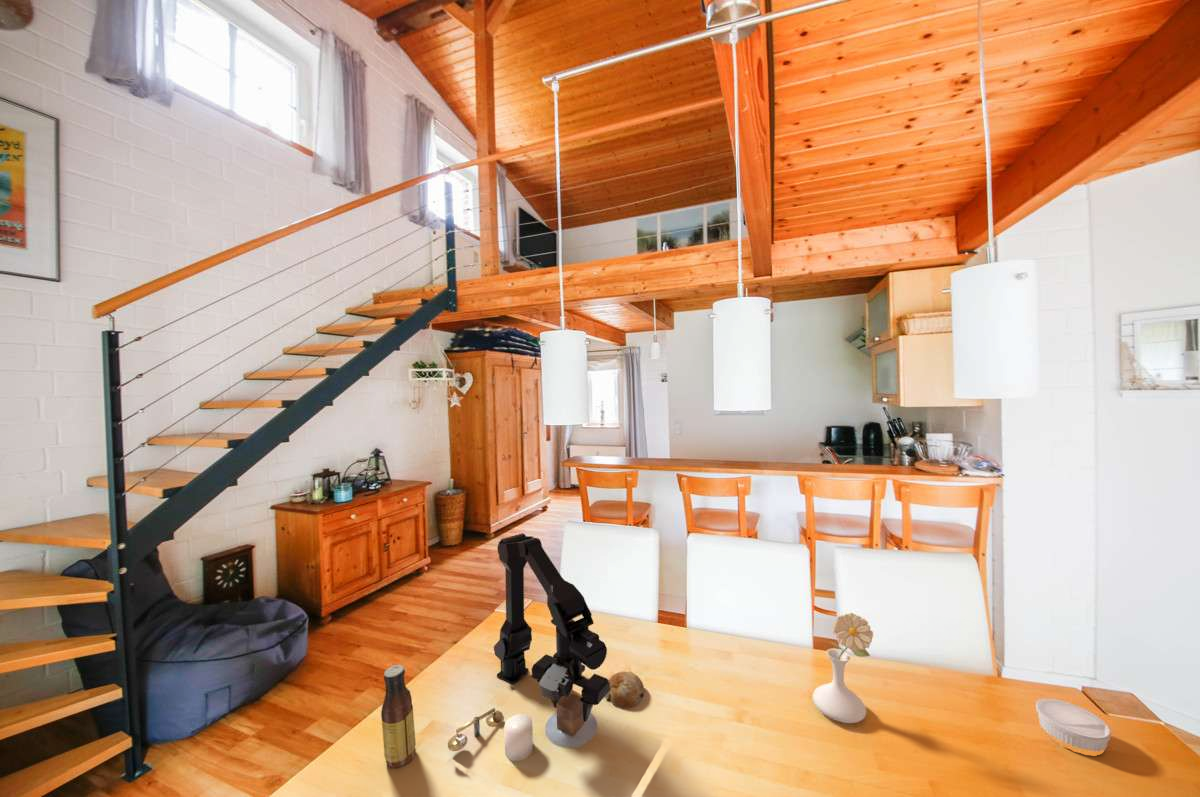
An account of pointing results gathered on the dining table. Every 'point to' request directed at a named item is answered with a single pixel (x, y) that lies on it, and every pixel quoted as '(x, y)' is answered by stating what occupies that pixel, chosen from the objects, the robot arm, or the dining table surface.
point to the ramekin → (1073, 724)
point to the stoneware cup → (518, 737)
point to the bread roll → (625, 690)
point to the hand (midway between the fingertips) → (570, 713)
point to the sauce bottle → (397, 719)
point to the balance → (461, 740)
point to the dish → (566, 740)
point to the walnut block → (569, 714)
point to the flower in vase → (836, 695)
